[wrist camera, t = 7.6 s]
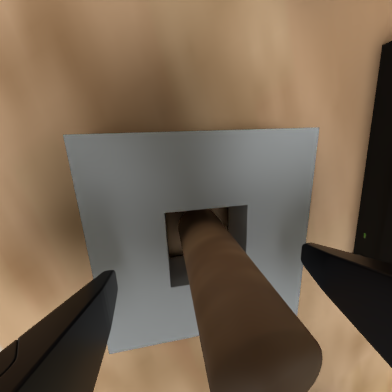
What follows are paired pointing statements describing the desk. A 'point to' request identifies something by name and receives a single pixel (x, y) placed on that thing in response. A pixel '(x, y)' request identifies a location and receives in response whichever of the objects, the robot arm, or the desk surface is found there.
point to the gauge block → (184, 201)
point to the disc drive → (378, 173)
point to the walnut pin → (242, 316)
